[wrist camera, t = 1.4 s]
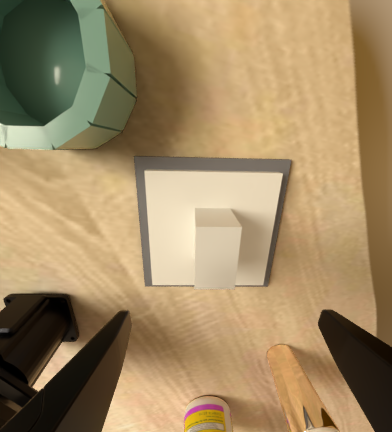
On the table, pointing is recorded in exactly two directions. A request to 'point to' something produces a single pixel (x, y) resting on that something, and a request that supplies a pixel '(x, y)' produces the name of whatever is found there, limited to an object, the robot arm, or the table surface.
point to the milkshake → (297, 394)
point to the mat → (205, 164)
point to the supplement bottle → (208, 415)
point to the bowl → (63, 75)
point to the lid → (210, 226)
